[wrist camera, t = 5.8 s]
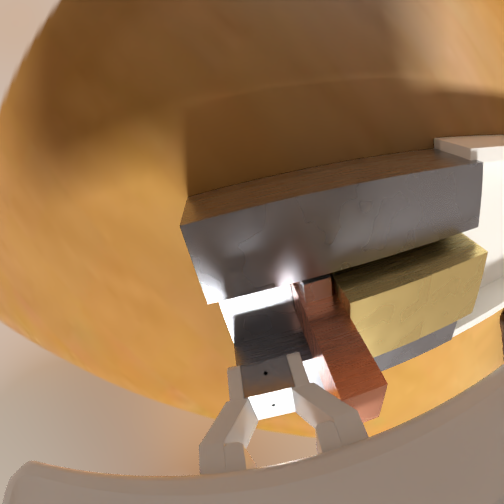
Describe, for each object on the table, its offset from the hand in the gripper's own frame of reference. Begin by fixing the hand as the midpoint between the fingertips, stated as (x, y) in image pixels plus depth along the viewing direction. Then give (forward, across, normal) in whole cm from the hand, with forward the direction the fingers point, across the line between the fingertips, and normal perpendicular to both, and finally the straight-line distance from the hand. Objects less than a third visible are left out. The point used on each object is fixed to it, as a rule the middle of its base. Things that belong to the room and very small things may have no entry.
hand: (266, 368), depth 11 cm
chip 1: (+4, -10, 0) cm, 11 cm away
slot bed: (+6, -5, 0) cm, 8 cm away
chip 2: (+4, -6, 0) cm, 7 cm away
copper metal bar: (+4, -3, 0) cm, 5 cm away
